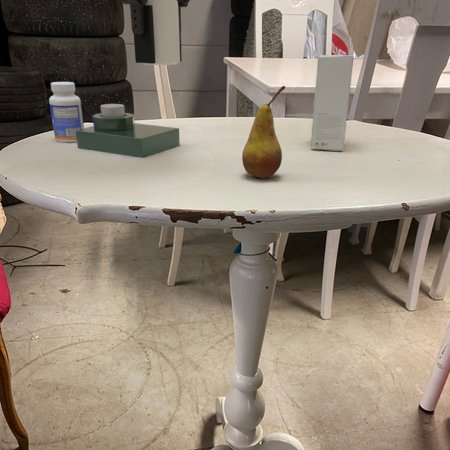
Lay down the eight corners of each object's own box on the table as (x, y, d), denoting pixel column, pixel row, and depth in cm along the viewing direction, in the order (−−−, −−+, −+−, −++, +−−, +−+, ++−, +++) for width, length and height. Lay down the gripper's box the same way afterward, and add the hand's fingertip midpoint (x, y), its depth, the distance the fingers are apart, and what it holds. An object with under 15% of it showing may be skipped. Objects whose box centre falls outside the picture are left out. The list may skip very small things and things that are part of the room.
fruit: (266, 169, 70) (271, 82, 64) (287, 179, 66) (295, 86, 60) (233, 173, 68) (235, 83, 62) (253, 183, 64) (257, 87, 58)
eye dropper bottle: (140, 63, 66) (133, -41, 60) (180, 63, 67) (177, -40, 61) (137, 65, 63) (129, -46, 57) (179, 65, 63) (176, -45, 57)
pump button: (97, 118, 81) (95, 105, 80) (112, 115, 84) (110, 103, 83) (115, 120, 79) (113, 107, 78) (130, 117, 82) (128, 105, 81)
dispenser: (77, 148, 81) (73, 117, 79) (118, 137, 90) (115, 109, 87) (143, 157, 76) (140, 125, 73) (179, 145, 84) (178, 116, 82)
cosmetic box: (343, 152, 81) (356, 55, 74) (308, 150, 82) (317, 54, 75) (342, 142, 88) (354, 53, 81) (310, 140, 89) (319, 53, 82)
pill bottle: (62, 136, 90) (53, 80, 85) (89, 137, 89) (82, 81, 84) (50, 142, 85) (40, 83, 80) (79, 143, 85) (71, 84, 80)
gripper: (121, -207, 44) (140, 66, 56) (216, -148, 59) (216, 60, 70) (62, -193, 47) (91, 64, 59) (167, -140, 62) (174, 58, 73)
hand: (159, 61), depth 64 cm, fingers closed on eye dropper bottle, 6 cm apart
